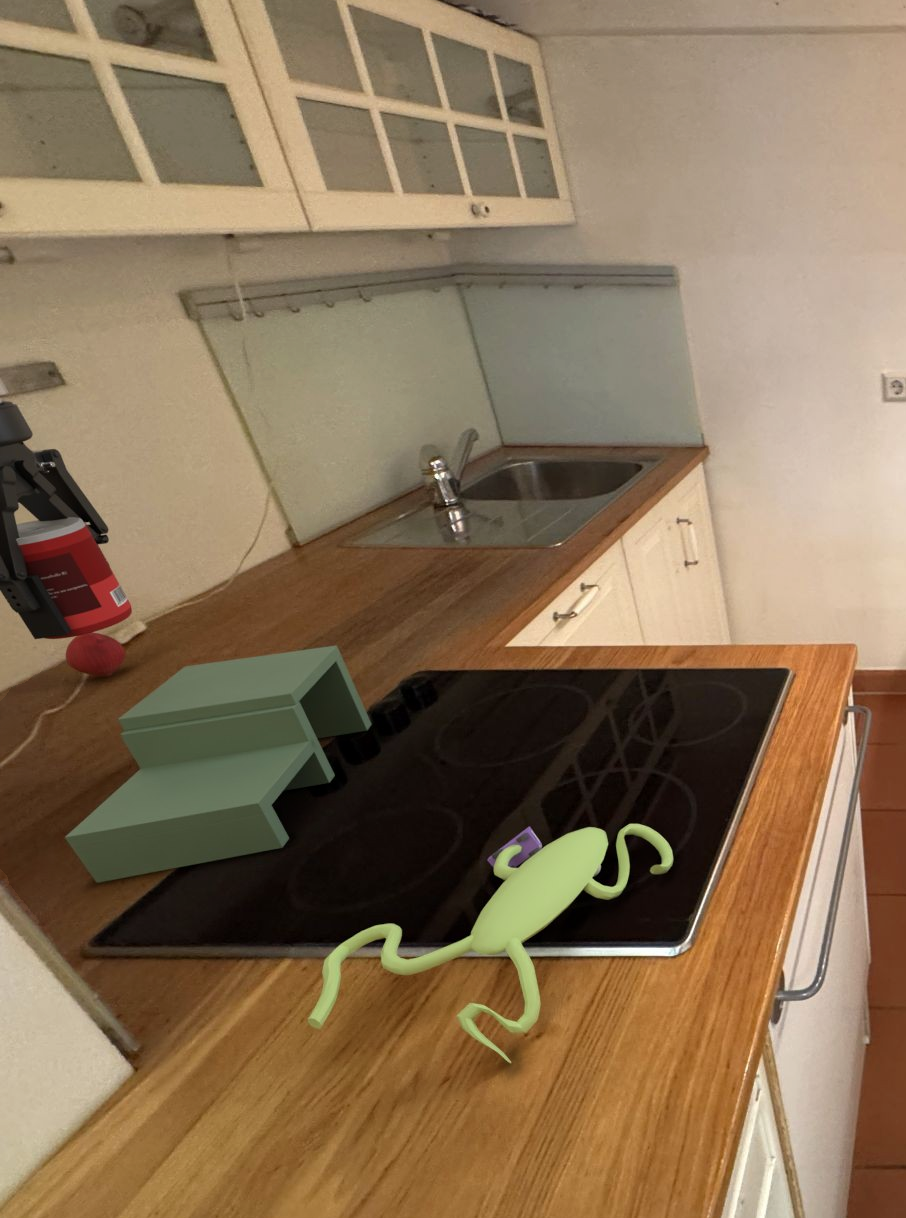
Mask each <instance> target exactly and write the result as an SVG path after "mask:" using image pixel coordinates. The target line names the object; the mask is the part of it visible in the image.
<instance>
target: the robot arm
mask: <svg viewBox="0 0 906 1218" xmlns="http://www.w3.org/2000/svg"><path fill="white" fill-rule="evenodd" d="M9 393H10V392H9V390H8V388H7V386H6V385H5V383H4V381H3V380H2V378H1V377H0V592H1V595H3V597H4V599H5V600H6V602H7V603H8V605H9V607H10V608H11V610H13V611H14V612H15V613H16V614H18V615H19V617H20V618H21V620H22V622H23V623H24V625H25V627H26V628H27V629H28V631H29V632H30V634H31V636H32V637H33V638H34V640H39V639H45V638H49V637H56V636H64V635H68V634H70V633H71V632H72V630H71V629H70V627H69V625H68V624H67V622H66V621H65V619H64V617H63V616H62V614H61V612H60V611H59V609H58V608H57V606H56V604H55V603H54V601H53V599H52V598H51V596H50V595H49V593H48V591H47V590H46V588H45V586H44V585H43V583H42V582H41V580H40V578H39V577H38V575H32V576H27V571H26V566H25V561H24V557H23V552H22V550H21V549H20V547H19V545H18V543H17V541H16V539H17V538H19V534H18V529H17V525H16V524H17V521H16V516H15V513H16V512H17V511H18V510H19V508H20V505H22V506H23V507H24V508H25V509H26V510H27V511H28V512H29V513H30V514H31V515H32V516H33V517H35V519H37V520H39V521H53V520H60V519H66V518H68V517H75V518H80V519H82V521H83V522H84V523H85V524H86V526H87V528H88V530H89V531H90V533H91V534H92V536H93V538H94V540H95V541H96V543H97V545H98V547H99V549H100V550H101V552H102V554H103V556H104V558H105V559H106V560H107V558H106V556H105V555H104V552H103V551H102V549H101V548H100V546H99V545H105V544H109V541H110V538H109V536H108V535H107V534H108V533H109V527H108V525H107V523H106V522H105V521H104V519H103V518H102V516H101V515H100V514H99V512H98V511H97V510H96V508H95V507H94V506H93V504H92V503H91V501H90V500H89V499H88V497H87V495H85V493H84V491H83V490H82V489H81V487H80V485H78V483H77V482H76V480H75V479H74V477H73V476H72V475H71V473H70V472H69V471H68V468H67V466H66V464H65V462H64V459H63V457H62V455H61V452H60V451H59V450H58V449H56V448H48V449H47V448H46V449H36V450H31V449H30V448H29V447H28V445H26V444H25V443H24V442H26V441H28V440H30V439H32V437H33V435H34V434H33V430H32V429H31V428H30V426H29V423H27V422H28V421H26V419H25V417H24V415H23V413H22V412H21V410H20V408H19V406H18V405H17V404H16V403H13V401H9V400H8V401H7V400H4V398H5V397H6V396H8V394H9ZM19 504H20V505H19ZM87 523H89V524H87ZM107 563H108V565H109V566H110V565H111V564H110V563H109V561H107ZM5 565H6V566H8V568H9V569H7V568H6V566H5ZM110 567H111V566H110Z"/></svg>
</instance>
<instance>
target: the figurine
mask: <svg viewBox="0 0 906 1218" xmlns="http://www.w3.org/2000/svg"><path fill="white" fill-rule="evenodd" d="M625 836H637V837H638V838H639V837H640V838H641V839H643V840H646V841H647V842H648V843H650V844H651V846H653V847H655V849H656V850H657V851H658V854H659V856H660V858H661V864H654V865H652V866H651V867H650V869H649V872H650V873H651V874H652V875H664V874H666V873H668V871H669V870H670V869H671V867H673V863H674V854H673V849H672V847H671V846H670V844H669V842H668V841H667V840H666V839H665V838H664V837H663V836H662V835H661V833H659V832H657V831H656V830H655V829H653V828H652V827H649V826H647V825H643V824H640V823H629V824H627V825H626V826H624V827H623V828H621V829H620V830H619V831H618V833H617V838H616V842H615V847H616V849H615V850H616V854H617V859H618V876H617V882H616V884H615V885H614V886H608V885H603V884H601V883H600V882H598V881H596V880H595V879H594V878H593V877H596V876H597V875H599V873H600V872H601V869H602V865H601V864H602V863H603V861H604V859H605V856H606V852H607V850H608V846H609V841H608V840H609V839H608V835H607V832H606V831H605V830H603V829H602V828H597V827H595V826H593V827H592V826H588V827H584V828H580V829H577V830H574V831H570V832H568V833H566V834H565V835H562V836H561V837H559V838H557V839H555V840H554V841H552V842H550V843H548V844H546V845H545V846H544V847H543V845H542V844H543V843H542V842H541V840H540V839H539V837H538V836H537V835H536V833H535V832H534V830H533V829H532V827H531V826H528V827H526V828H525V829H524V830H523V831H521V832H520V833H519V834H517V835H516V836H515V837H513V838H512V839H511V840H509V841H508V842H507V843H506V844H505V845H503V846H501V848H499V849H498V850H497V851H495V852H493V853H492V854H491V855H490V856H489V857H488V858H487V862H488V863H489V864H490V865H491V866H492V867H493V874H494V876H496V877H498V878H500V879H502V880H503V882H502V884H501V885H500V886H499V887H498V889H497V890H496V891H495V892H494V894H493V895H492V896H491V898H490V899H489V900H488V901H487V903H486V904H485V906H484V907H483V908H482V910H481V911H480V913H479V915H478V916H477V919H476V921H475V923H474V925H473V927H472V929H471V932H470V935H469V936H466V937H464V938H463V939H461V940H458V941H456V942H453V943H451V944H448V945H446V946H444V947H442V948H439V949H437V950H434V951H432V952H429V953H426V954H424V955H421V956H418V957H414V958H409V959H406V958H403V957H400V956H399V955H398V948H399V946H400V943H401V940H402V936H403V929H402V928H401V926H399V925H397V924H395V923H384V924H377V925H373V926H371V927H368V928H366V929H364V930H361V931H360V932H358V933H356V934H354V935H353V936H352V937H350V938H348V939H346V940H345V941H343V942H342V943H340V944H339V945H338V946H336V948H334V949H333V950H332V951H331V952H330V953H329V955H328V956H327V957H325V958H324V961H323V966H322V971H321V974H322V978H323V985H322V989H321V994H320V996H319V998H318V1001H317V1003H316V1004H315V1007H314V1008H313V1009H312V1011H311V1013H310V1015H309V1017H308V1018H307V1023H308V1024H309V1026H310V1027H312V1028H314V1029H315V1030H321V1029H322V1028H323V1026H324V1024H325V1022H326V1020H327V1019H328V1017H329V1015H330V1014H331V1011H332V1010H333V1007H334V1005H335V1003H336V1001H337V998H338V995H339V991H340V986H341V983H342V982H341V981H342V974H341V973H342V972H341V968H342V964H343V962H344V961H345V960H346V959H347V958H348V957H349V956H350V955H352V954H353V953H354V952H356V951H358V950H359V949H360V948H362V947H364V946H366V945H368V944H369V943H372V942H374V941H377V940H383V939H385V942H384V944H383V945H382V949H381V951H380V961H381V966H382V968H383V969H385V970H386V971H389V972H390V973H392V974H395V975H399V976H411V975H415V974H419V973H423V972H425V971H428V970H430V969H433V968H435V967H438V966H440V965H443V964H445V963H448V962H450V961H452V960H455V959H457V958H460V957H462V956H464V955H467V954H469V953H470V952H472V951H473V952H475V953H477V954H478V955H483V956H484V955H485V956H494V955H499V954H501V953H503V952H506V954H507V955H508V957H509V958H510V959H511V961H512V962H513V965H514V966H515V968H516V970H517V974H518V979H519V983H520V988H521V991H522V995H523V1000H524V1009H523V1010H524V1011H523V1014H522V1015H521V1016H520V1017H519V1019H518V1020H517V1021H515V1020H511V1019H507V1018H505V1017H503V1015H500V1014H499V1013H497V1012H496V1011H494V1010H492V1009H491V1008H490V1007H488V1006H487V1005H485V1004H481V1003H474V1002H469V1003H468V1004H467V1005H466V1006H465V1007H464V1008H462V1009H461V1010H460V1012H459V1013H457V1015H456V1019H457V1021H458V1024H459V1025H460V1028H461V1029H463V1030H464V1031H465V1033H467V1034H468V1035H469V1036H470V1037H472V1038H473V1039H475V1040H477V1042H479V1043H481V1044H482V1045H484V1046H485V1047H487V1048H489V1049H491V1050H493V1051H495V1052H496V1053H497V1054H499V1055H500V1056H501V1057H502V1058H503V1059H504V1060H505V1061H507V1062H508V1063H509V1064H512V1061H511V1060H510V1058H509V1057H508V1056H507V1055H506V1053H505V1052H504V1051H503V1050H501V1049H500V1048H499V1047H498V1046H497V1045H496V1044H495V1043H493V1042H492V1041H491V1040H490V1039H489V1038H488V1037H486V1036H485V1035H484V1034H483V1033H482V1032H481V1030H479V1028H478V1026H477V1024H476V1023H475V1021H474V1020H475V1018H476V1017H478V1016H479V1015H480V1014H481V1013H482V1012H483V1013H485V1014H488V1015H490V1016H492V1017H493V1018H494V1019H495V1020H496V1021H497V1022H498V1023H499V1024H500V1025H501V1026H502V1027H503V1028H505V1029H506V1031H508V1032H509V1033H510V1034H527V1033H528V1032H529V1031H530V1030H531V1028H532V1027H533V1026H534V1025H535V1024H536V1023H537V1021H538V1020H539V1016H540V1010H541V1006H542V1005H541V1004H542V1002H541V996H540V995H541V994H540V989H539V985H538V980H537V975H536V969H535V965H534V963H533V961H532V959H531V956H530V954H529V953H528V952H527V951H526V949H525V947H524V946H523V943H525V942H526V941H527V940H529V939H530V938H532V937H533V936H535V935H537V934H538V933H539V932H541V931H543V930H544V929H545V928H546V927H548V926H549V925H550V924H551V923H552V922H553V921H554V920H555V919H556V918H558V917H559V916H560V915H561V914H563V912H564V911H566V910H567V909H568V908H569V907H570V905H571V904H572V903H573V902H574V901H575V900H576V898H577V897H579V895H580V894H581V893H582V891H584V892H585V893H586V894H589V895H590V896H592V897H594V898H596V899H602V900H607V901H609V900H612V899H615V898H618V897H620V895H621V894H622V893H623V891H624V890H625V889H626V886H627V883H628V880H629V876H630V868H631V864H630V855H629V851H628V847H627V844H626V840H625ZM519 865H520V866H519ZM517 866H518V867H517Z"/></svg>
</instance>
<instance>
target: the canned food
mask: <svg viewBox="0 0 906 1218" xmlns="http://www.w3.org/2000/svg"><path fill="white" fill-rule="evenodd" d="M86 524H87V523H86ZM86 524H85V523H84V522H83V521H82V519H80V518H75V517H68V518H66V519H60V520H53V521H39V520H38V519H37V520H31V521H26V522H21V523H16V525H17V529H18V534H19V538H17V539H16V541H17V543H18V545H19V547H20V549H21V550H22V552H23V557H24V561H25V566H26V571H27V576H32V575H38V577H39V578H40V580H41V582H42V583H43V585H44V586H45V588H46V590H47V591H48V593H49V595H50V596H51V598H52V599H53V601H54V603H55V604H56V606H57V608H58V609H59V611H60V612H61V614H62V616H63V617H64V619H65V621H66V622H67V624H68V625H69V627H70V629H71V630H72V632H71V633H70V634H68V635H64V636H56V637H49V638H44V639H46V640H60V639H68V638H75V637H76V636H79V635H84V634H88V633H96V632H99V631H103V630H104V629H108V628H110V627H113V626H115V625H117V624H120V623H121V622H123V621H125V620H127V619H128V618H129V617H131V615H132V614H133V609H132V604H131V602H130V600H129V599H128V596H127V595H126V593H125V591H124V590H123V588H122V586H121V584H120V582H119V581H118V579H117V577H116V574H114V572H113V570H112V568H111V566H109V565H110V564H109V565H108V563H109V562H108V560H107V558H106V557H105V558H106V559H105V558H104V556H105V555H104V553H103V551H102V549H101V548H100V546H99V544H98V545H97V543H96V541H95V540H94V538H93V536H92V534H91V533H90V531H89V530H88V528H87V526H86ZM98 546H99V547H98ZM99 548H100V549H101V550H100V549H99ZM101 551H102V552H101ZM102 553H103V554H102ZM103 555H104V556H103ZM107 562H108V563H107ZM5 566H6V565H5ZM6 568H7V569H9V568H8V566H6Z"/></svg>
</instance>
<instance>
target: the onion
mask: <svg viewBox="0 0 906 1218" xmlns="http://www.w3.org/2000/svg"><path fill="white" fill-rule="evenodd" d="M66 647H67V648H66V650H65V660H66V663H67V665H69V667H70V668H72V669H73V670H75V671H77V672H79V673H82V674H86V675H92V676H97V677H101V678H109V677H110V676H112V675H113V674H114V673H115V672H116V671H117V670H118V669H119V668H120V667H121V666H122V664H123V662H124V660H125V658H126V657H125V656H126V650H125V648H124V646H123V645H122V644H121V643H120V641H118V640H117V639H116V638H113V637H111V636H109V635H107V634H102V633H98V632H92V633H88V634H84V635H79V636H75V637H73V639H72V640H71V641H70V642H69V643H68V645H67V646H66Z"/></svg>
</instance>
